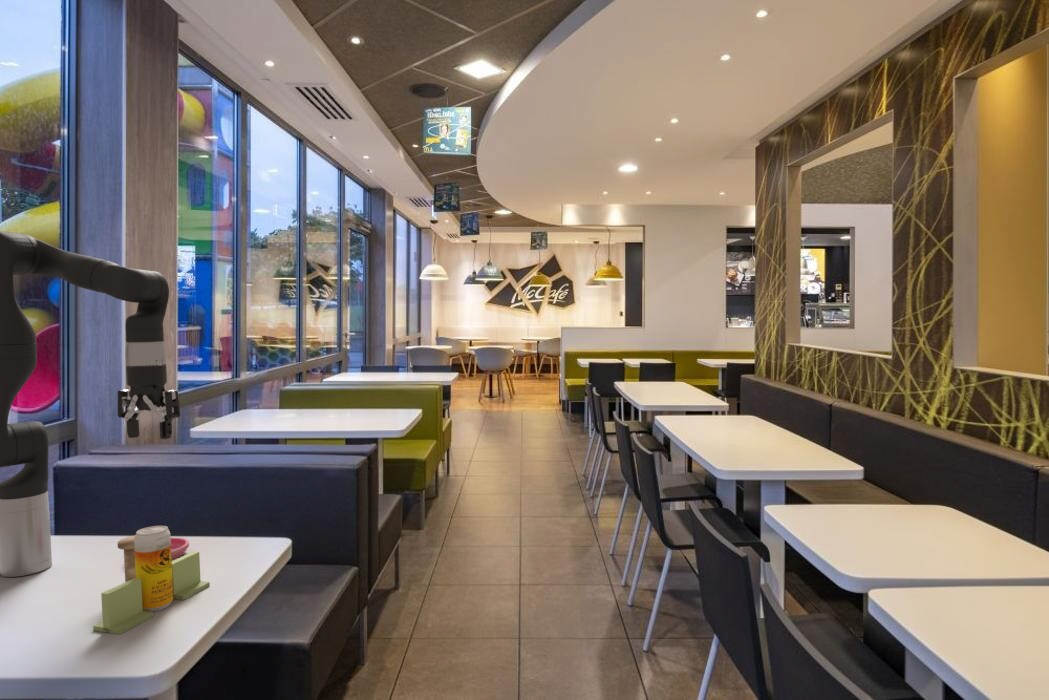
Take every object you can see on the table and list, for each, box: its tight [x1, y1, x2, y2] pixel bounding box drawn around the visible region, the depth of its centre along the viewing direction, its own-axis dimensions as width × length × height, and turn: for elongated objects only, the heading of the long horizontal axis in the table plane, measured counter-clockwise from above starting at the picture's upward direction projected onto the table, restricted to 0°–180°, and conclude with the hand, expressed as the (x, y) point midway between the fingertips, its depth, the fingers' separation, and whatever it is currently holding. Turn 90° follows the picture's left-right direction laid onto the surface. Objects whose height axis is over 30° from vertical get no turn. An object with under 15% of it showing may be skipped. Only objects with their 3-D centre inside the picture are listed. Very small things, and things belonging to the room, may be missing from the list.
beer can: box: [134, 525, 174, 613], centre depth 126 cm, size 6×6×15 cm
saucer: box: [171, 537, 190, 561], centre depth 153 cm, size 12×12×3 cm
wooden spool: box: [117, 535, 136, 583], centre depth 133 cm, size 8×8×11 cm
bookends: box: [92, 550, 211, 635], centre depth 126 cm, size 6×22×7 cm, turn 164°
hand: (149, 438), depth 141 cm, fingers open, 8 cm apart
